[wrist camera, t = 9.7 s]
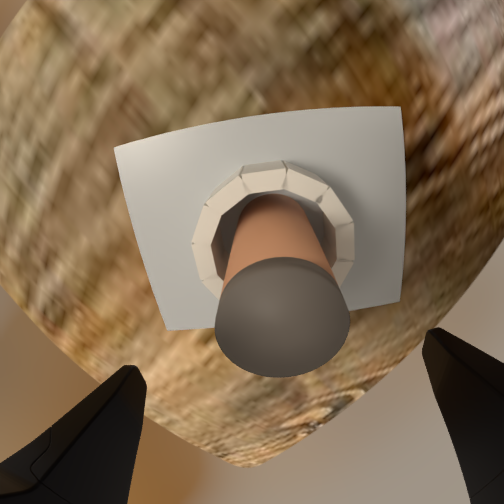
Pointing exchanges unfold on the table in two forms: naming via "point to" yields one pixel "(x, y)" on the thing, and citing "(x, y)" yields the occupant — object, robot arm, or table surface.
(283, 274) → the plug
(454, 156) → the table surface
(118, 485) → the robot arm
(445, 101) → the table surface
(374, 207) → the plate with ring collar
